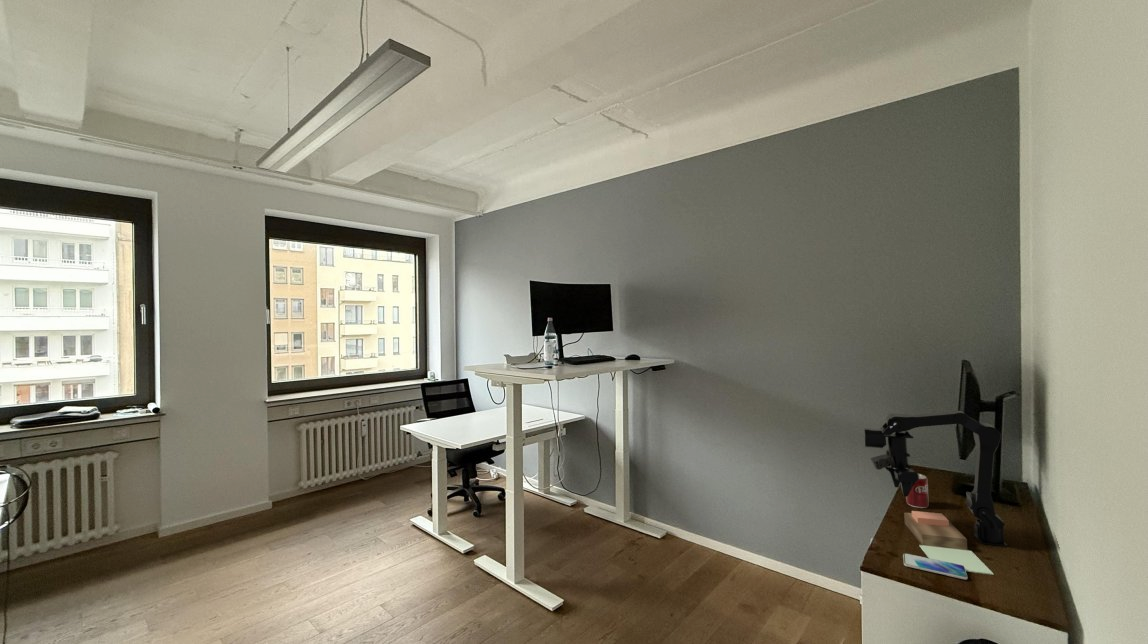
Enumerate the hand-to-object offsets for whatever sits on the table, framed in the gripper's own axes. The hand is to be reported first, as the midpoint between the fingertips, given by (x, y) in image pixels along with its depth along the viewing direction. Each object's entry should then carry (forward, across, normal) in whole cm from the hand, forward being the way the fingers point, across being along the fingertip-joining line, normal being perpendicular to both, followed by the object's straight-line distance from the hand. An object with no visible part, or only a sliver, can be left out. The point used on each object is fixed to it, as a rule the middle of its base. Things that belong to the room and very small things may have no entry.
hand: (900, 491), depth 163 cm
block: (+9, +2, +8) cm, 12 cm away
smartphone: (+13, +28, -1) cm, 31 cm away
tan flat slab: (+13, +5, +8) cm, 16 cm away
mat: (+14, +21, +7) cm, 26 cm away
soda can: (+14, -24, +12) cm, 30 cm away
